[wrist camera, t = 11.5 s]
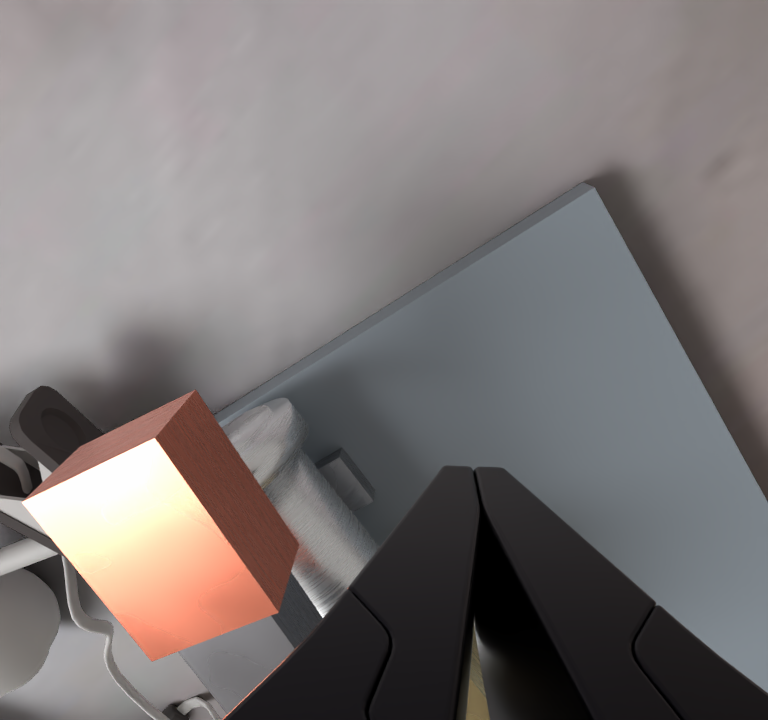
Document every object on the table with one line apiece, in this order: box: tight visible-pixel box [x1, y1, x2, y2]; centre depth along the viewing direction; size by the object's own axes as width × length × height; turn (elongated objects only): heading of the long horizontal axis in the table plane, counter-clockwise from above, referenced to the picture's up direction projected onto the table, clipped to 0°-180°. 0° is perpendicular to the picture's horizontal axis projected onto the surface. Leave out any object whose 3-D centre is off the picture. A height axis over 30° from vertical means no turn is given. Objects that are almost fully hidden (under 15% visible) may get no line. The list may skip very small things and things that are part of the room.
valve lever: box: [22, 390, 323, 714], centre depth 15 cm, size 15×3×2 cm, turn 28°
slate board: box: [214, 182, 768, 693], centre depth 24 cm, size 22×18×2 cm
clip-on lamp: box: [0, 386, 221, 720], centre depth 24 cm, size 12×6×18 cm
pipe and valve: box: [222, 398, 490, 720], centre depth 21 cm, size 22×6×7 cm, turn 34°
